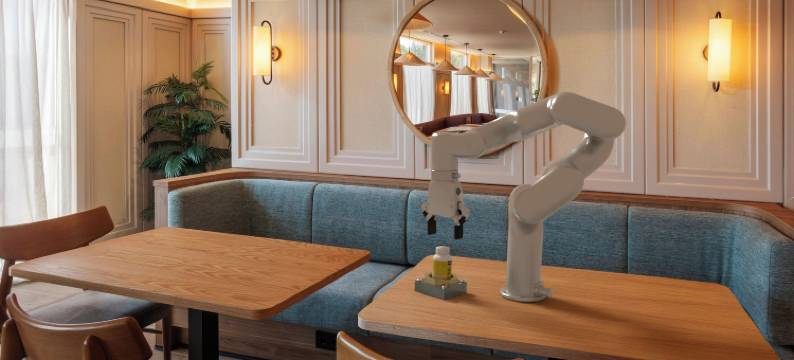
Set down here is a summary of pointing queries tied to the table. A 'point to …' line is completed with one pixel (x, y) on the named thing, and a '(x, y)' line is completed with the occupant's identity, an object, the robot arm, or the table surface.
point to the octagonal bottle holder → (441, 286)
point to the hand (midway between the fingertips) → (445, 236)
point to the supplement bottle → (442, 263)
